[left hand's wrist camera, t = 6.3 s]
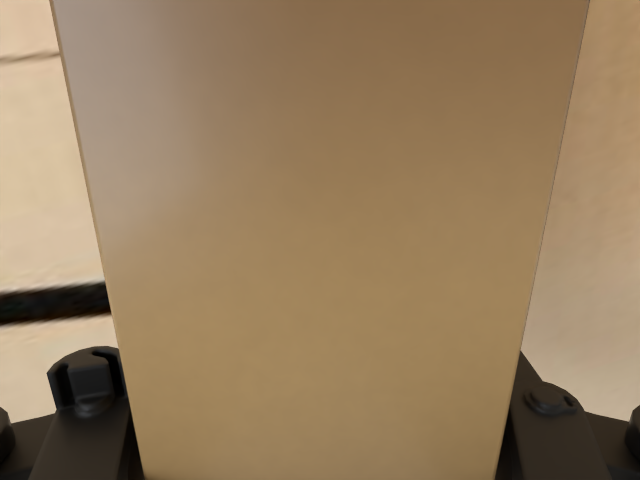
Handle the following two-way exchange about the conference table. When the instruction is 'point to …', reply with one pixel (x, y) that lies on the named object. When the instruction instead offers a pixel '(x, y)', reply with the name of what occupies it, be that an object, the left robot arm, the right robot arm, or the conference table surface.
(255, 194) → the bar
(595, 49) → the conference table surface
